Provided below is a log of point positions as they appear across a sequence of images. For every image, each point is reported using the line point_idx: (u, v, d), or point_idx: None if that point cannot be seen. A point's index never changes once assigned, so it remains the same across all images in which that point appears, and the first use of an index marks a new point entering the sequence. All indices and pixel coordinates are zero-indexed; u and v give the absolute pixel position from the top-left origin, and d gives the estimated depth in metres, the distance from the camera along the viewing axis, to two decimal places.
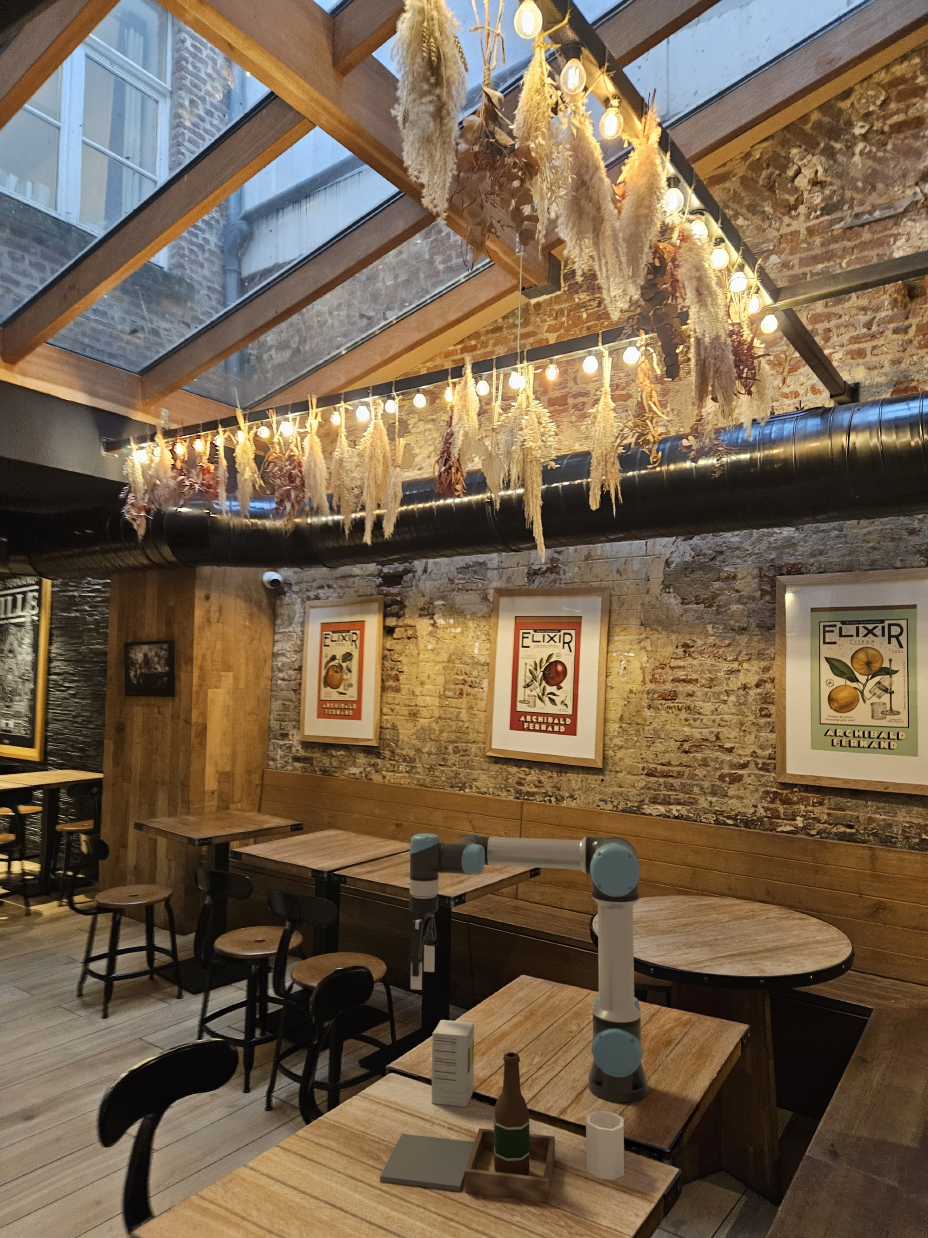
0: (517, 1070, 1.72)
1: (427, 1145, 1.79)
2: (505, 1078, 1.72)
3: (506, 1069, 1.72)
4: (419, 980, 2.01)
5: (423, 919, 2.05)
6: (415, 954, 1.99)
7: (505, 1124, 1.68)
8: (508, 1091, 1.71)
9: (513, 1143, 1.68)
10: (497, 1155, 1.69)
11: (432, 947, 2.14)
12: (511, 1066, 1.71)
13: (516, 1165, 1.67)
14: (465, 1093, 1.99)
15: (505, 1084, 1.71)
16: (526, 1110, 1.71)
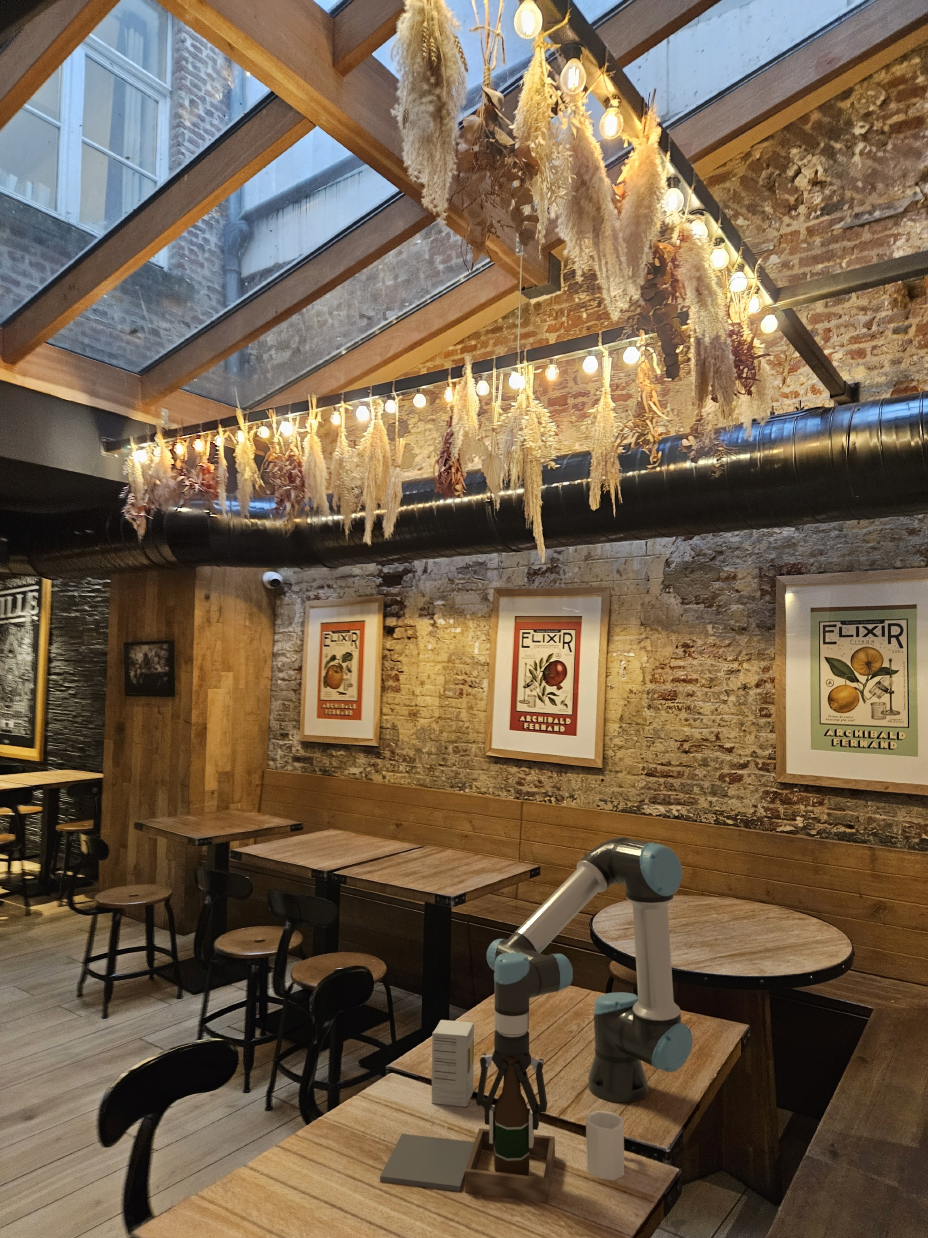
0: None
1: (427, 1145, 1.79)
2: (505, 1078, 1.72)
3: (506, 1069, 1.72)
4: None
5: (493, 1056, 1.73)
6: (477, 1095, 1.73)
7: (505, 1124, 1.68)
8: (508, 1091, 1.71)
9: (514, 1143, 1.68)
10: (497, 1154, 1.69)
11: (529, 1115, 1.70)
12: (511, 1066, 1.71)
13: (516, 1165, 1.67)
14: (465, 1093, 1.99)
15: (505, 1084, 1.71)
16: (526, 1110, 1.71)
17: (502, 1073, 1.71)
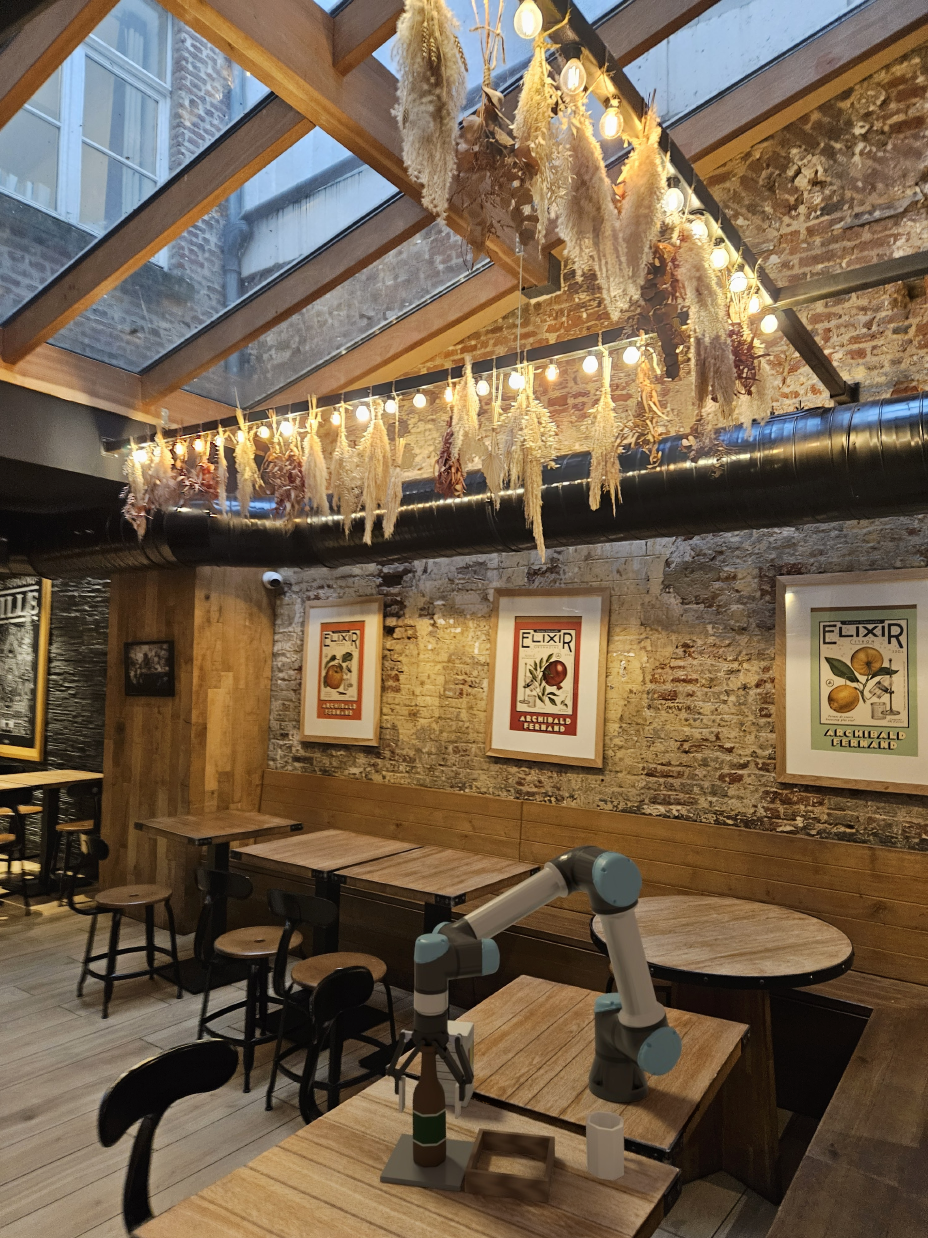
0: (433, 1059, 1.74)
1: None
2: (422, 1067, 1.74)
3: (423, 1058, 1.74)
4: None
5: (412, 1034, 1.77)
6: None
7: (420, 1111, 1.71)
8: (424, 1079, 1.73)
9: (429, 1129, 1.71)
10: (414, 1140, 1.72)
11: None
12: (427, 1055, 1.74)
13: (432, 1151, 1.71)
14: None
15: (422, 1072, 1.74)
16: (442, 1097, 1.73)
17: (418, 1050, 1.75)
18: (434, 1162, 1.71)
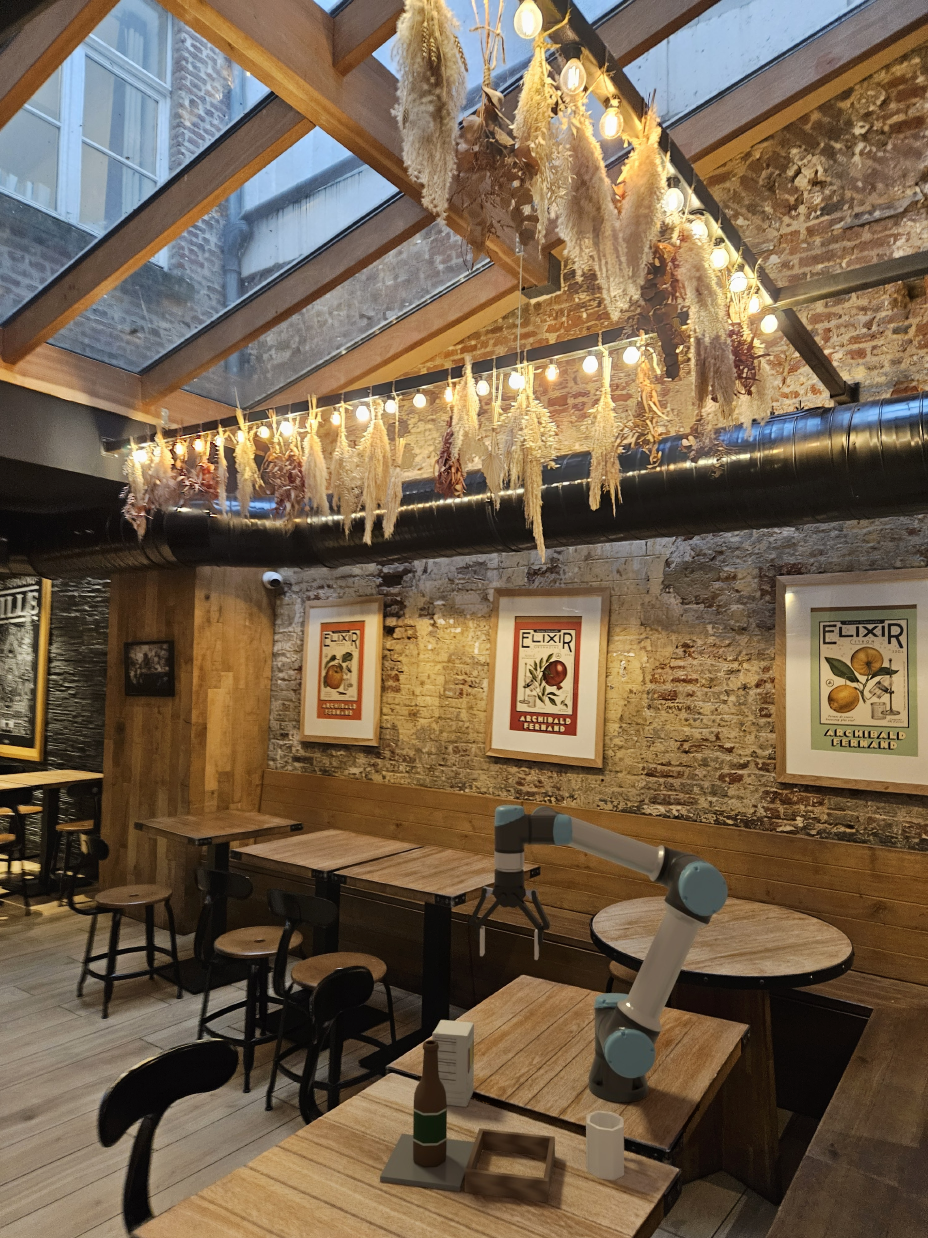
0: (435, 1057, 1.75)
1: None
2: (424, 1065, 1.75)
3: (425, 1056, 1.75)
4: None
5: (493, 889, 2.01)
6: (471, 916, 2.02)
7: (421, 1110, 1.72)
8: (426, 1078, 1.74)
9: (430, 1128, 1.71)
10: (414, 1140, 1.73)
11: None
12: (429, 1053, 1.75)
13: (432, 1150, 1.71)
14: (465, 1093, 1.99)
15: (423, 1071, 1.75)
16: (443, 1097, 1.74)
17: (499, 902, 2.00)
18: (434, 1163, 1.71)
